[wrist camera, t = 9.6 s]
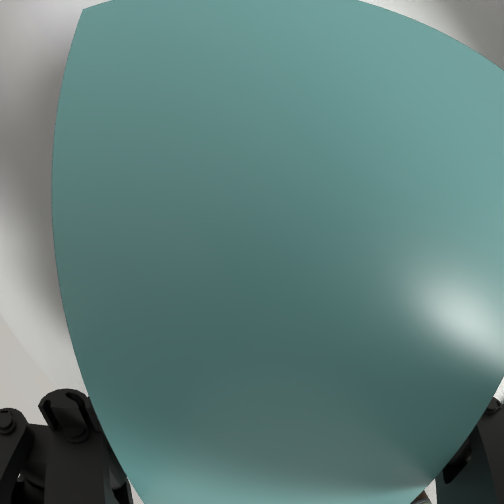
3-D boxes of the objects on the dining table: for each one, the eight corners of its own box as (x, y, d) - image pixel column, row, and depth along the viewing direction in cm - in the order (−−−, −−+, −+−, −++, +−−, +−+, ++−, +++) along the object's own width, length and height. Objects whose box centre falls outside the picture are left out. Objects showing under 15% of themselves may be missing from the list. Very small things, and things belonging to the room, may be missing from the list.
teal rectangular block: (193, 125, 10) (83, 9, 2) (373, 140, 10) (543, 103, 2) (202, 440, 13) (187, 558, 5) (321, 439, 13) (351, 550, 6)
